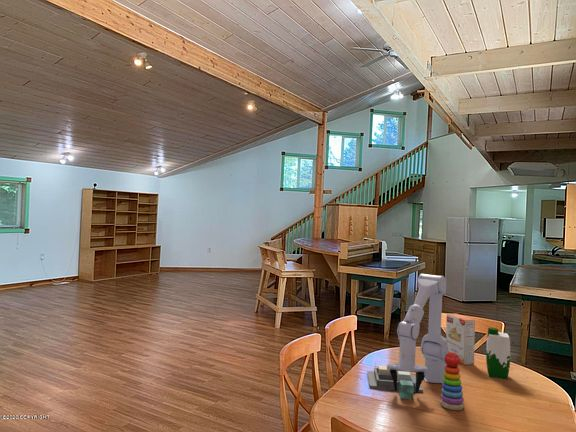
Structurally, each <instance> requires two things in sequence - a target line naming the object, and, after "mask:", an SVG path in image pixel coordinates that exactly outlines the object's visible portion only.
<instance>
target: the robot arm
mask: <svg viewBox="0 0 576 432" xmlns="http://www.w3.org/2000/svg"><path fill="white" fill-rule="evenodd" d="M417 288H418V291H417V294H416V297H415V299H414V303H413V304H412V305H409V307H408V309H407V312H406V313H405V317H404V318H403V320H402V321H400V322H399V323H398V325H397V329H396V333H397V336H398V338H397V339H398V341H399V354H398V356H399V357H398V359H399V360H398V361H399V362H398V363H387V364H386V366H387V371H390V374H391V376H392V379H393V383H394V390H393V391H394V392H398V391H397V371H404V372H410V373H415V375H416V386H415V391H416V392H415V394H419V392H418V391H419V388H420V385H421V386H422V383H423V381H424V382H425V383H436V384H443V378H444V372H445V366H446V365H447V364H446V363H445V355H446V354H447V353H448V342H447V340H446V337H444V336H443V335H442V317H443V316H442V313H443V311H442V310H443V296H446V294H447V279H446V278H445V276H444V275H434V274H426V273H420V274H419V275H418V278H417ZM428 300H429V304H428V305H429V306H428V307H429V308H428V326H427V327H428V329H427V330H428V331H427V333H426V334H425V335H424V336H423V337H422V339H421V344H420V352H421V354H422V355H423V358H424V366H421V365H417V364H416V351H417V350H416V346H417V345H416V344H417V343H416V342H417V338H418V337H419V335H420V328H421V325H420V324H421V322H422V319H423V316H424V314H425V310H424V306H425V305H426V303H427V302H428Z"/></svg>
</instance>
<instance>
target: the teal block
mask: <svg viewBox="0 0 576 432" xmlns="http://www.w3.org/2000/svg"><path fill="white" fill-rule="evenodd" d="M414 393H415V392H414V385H413V383H412V381H405V380H399V391H398V394H399V397H400V399H407V400H414Z"/></svg>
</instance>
